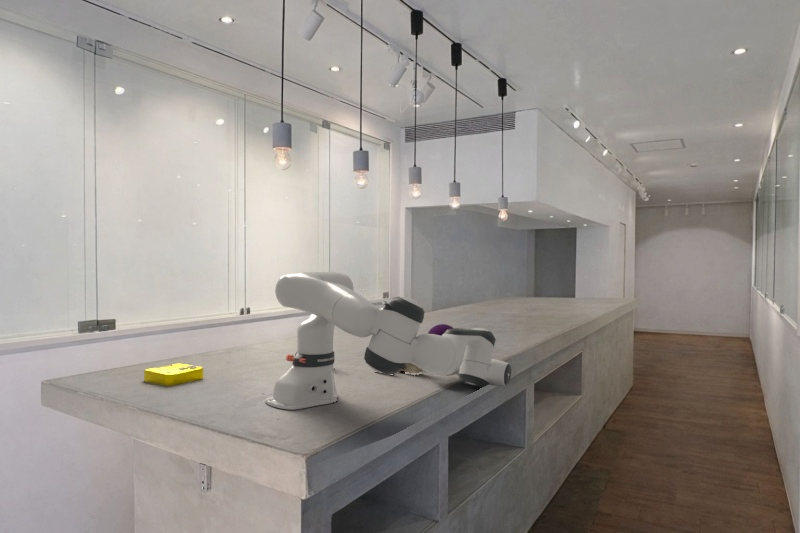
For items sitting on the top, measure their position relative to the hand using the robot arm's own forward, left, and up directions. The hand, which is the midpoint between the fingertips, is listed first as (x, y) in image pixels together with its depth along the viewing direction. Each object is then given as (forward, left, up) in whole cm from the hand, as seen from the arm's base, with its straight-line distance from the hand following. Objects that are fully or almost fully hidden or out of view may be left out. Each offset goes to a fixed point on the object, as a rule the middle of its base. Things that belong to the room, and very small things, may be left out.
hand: (436, 362), depth 195 cm
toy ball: (+33, +21, -6) cm, 39 cm away
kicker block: (0, +10, -6) cm, 12 cm away
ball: (0, +15, -1) cm, 15 cm away
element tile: (-65, +66, -6) cm, 93 cm away
